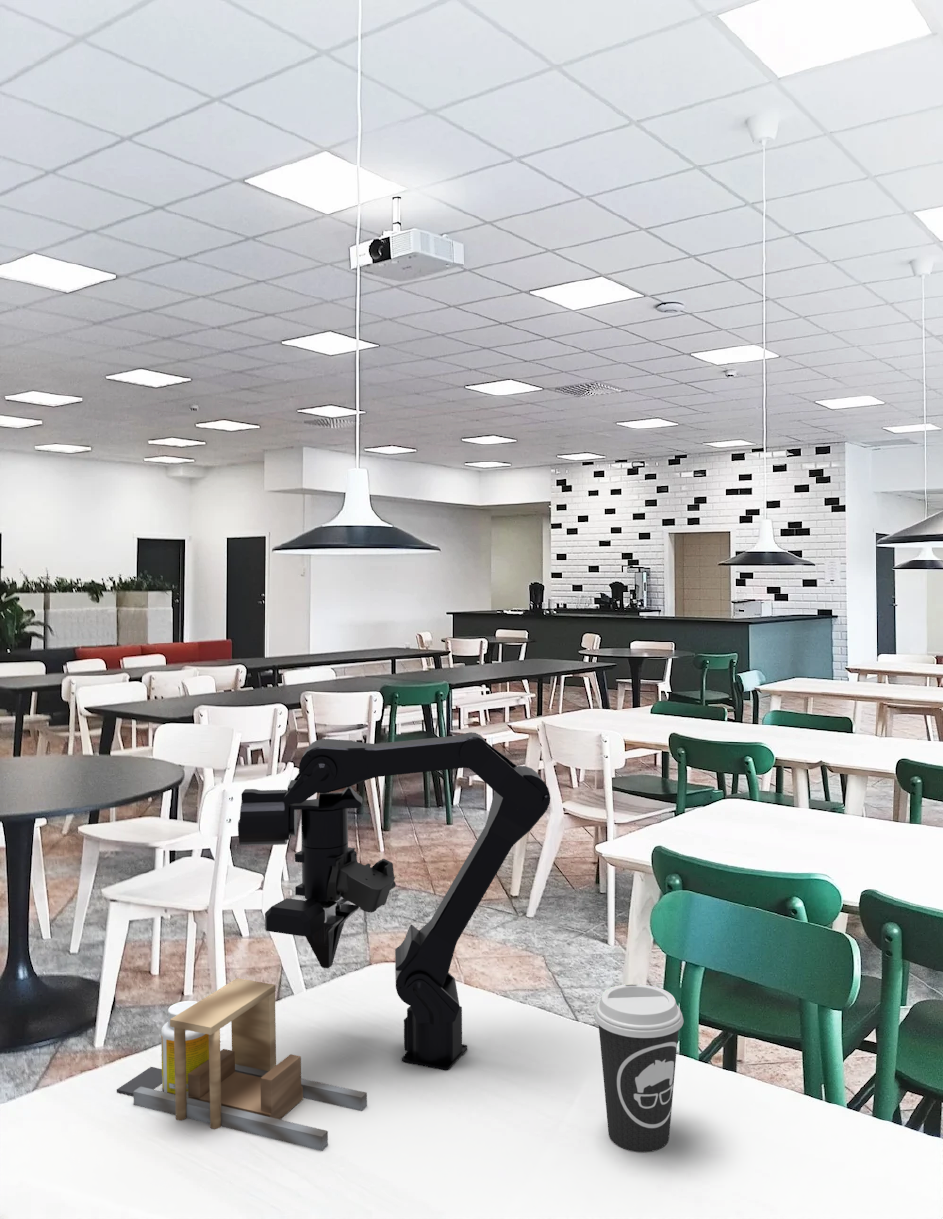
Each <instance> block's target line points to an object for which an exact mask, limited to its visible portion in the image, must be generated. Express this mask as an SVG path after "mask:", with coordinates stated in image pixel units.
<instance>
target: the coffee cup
mask: <svg viewBox="0 0 943 1219" xmlns="http://www.w3.org/2000/svg"><path fill="white" fill-rule="evenodd" d="M593 1020H594V1022H595V1023H596V1024H597V1025H598V1033H599V1041H600V1042H599V1044H600V1056H601V1065H602V1076H603V1086H604V1097H605V1098H604V1099H605V1108H606V1120H607V1130H608V1131H607V1133H608V1134H607V1135H608V1137H609V1139H610V1141H611V1142H612V1143H614V1144H615V1145H616V1146H618V1147H620V1148H622V1149H623V1150H624V1149H625V1150H627V1151H631V1152H636V1153H647V1152H650V1153H651V1152H654V1151H658V1150H660V1149H662V1148H664V1147H666V1145H667V1144H668V1143H669V1141H670V1133H671V1121H672V1120H671V1119H672V1109H673V1095H674V1085H675V1084H674V1083H675V1076H676V1075H675V1073H676V1063H677V1062H676V1061H677V1049H678V1040H679V1031H680V1029H681V1028H682V1027H683V1025H684V1016H683V1013H682V1011H681V1008H680V1006H678V1004H677V1001H676V999H675V997H674V995H673V994H672V993H670V992H669V991H667V990H665V989H663V988H660V987H657V986H653V985H648V984H640V983H639V984H638V983H629V984H625V983H624V984H620V985H615V986H612V987H610V988H609V987H608V988H607V989H606V990H605V991H603V992H602V994H601V996H600V999H599V1001H598V1002H597V1004H596V1007H595V1008H594V1010H593Z"/></svg>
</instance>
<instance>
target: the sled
mask: <svg viewBox="0 0 943 1219" xmlns="http://www.w3.org/2000/svg"><path fill="white" fill-rule="evenodd" d="M220 1067H221V1106H225V1107H229V1108H233V1109H238V1110H242V1111H246V1112H250V1113H255V1114H259V1115H263V1116H267V1117H271V1118H276V1119H280V1120H282V1119H283V1118H284V1117H285V1116H286V1115H287V1114H289V1112H291V1110H293V1109H294V1108H295V1107H296V1106H297V1105H298V1104H300V1103H302V1101H304V1098H303V1087H302V1086H301V1078H302V1056H300V1055H296V1054H292V1053H291V1054H289V1055H287V1056H286V1057H285V1058H284V1059H283V1060H281V1061H280V1062H279V1063H278V1064H276V1066H275V1067H274V1068H272V1069H271V1070H270V1071H269V1072H267V1073H266V1074H265V1075H264V1076H262V1077H256V1076H252V1075H247V1074H243V1073H238V1072H235V1051H232V1049H226V1048H222V1049H220ZM188 1098H191V1099H195V1100H200V1101H204V1102H208V1103H210V1082H209V1059H208V1060H207V1061H206V1062H204V1063H203V1064H201V1065H200V1066H199V1067H197V1068H196V1069H194V1070H193V1071H192V1072H190V1073H189V1074H188Z"/></svg>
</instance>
